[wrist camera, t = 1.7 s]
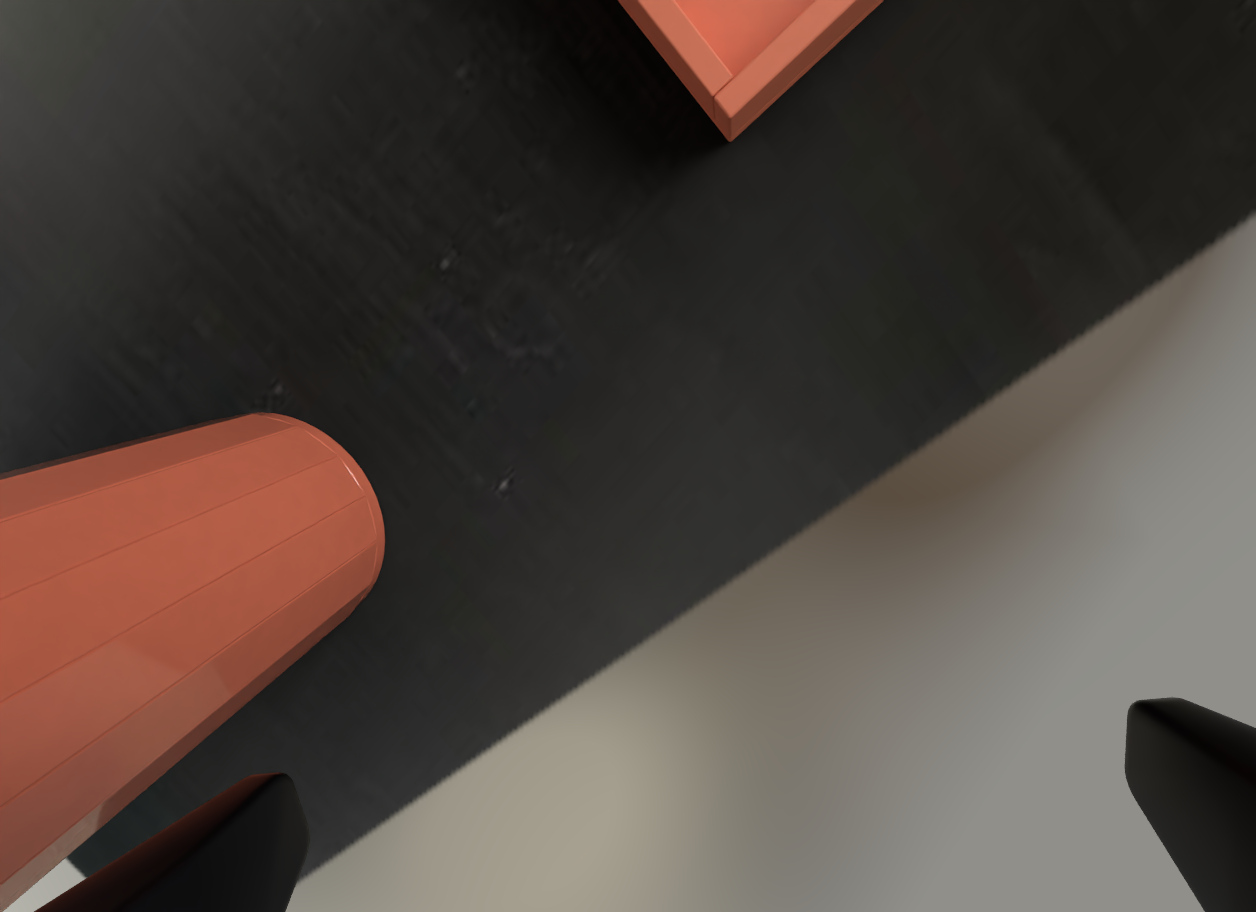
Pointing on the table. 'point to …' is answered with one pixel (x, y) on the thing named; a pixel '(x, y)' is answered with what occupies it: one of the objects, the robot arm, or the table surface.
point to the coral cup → (159, 609)
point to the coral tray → (743, 47)
